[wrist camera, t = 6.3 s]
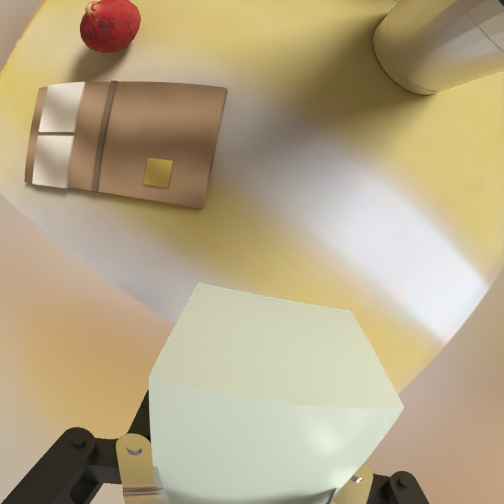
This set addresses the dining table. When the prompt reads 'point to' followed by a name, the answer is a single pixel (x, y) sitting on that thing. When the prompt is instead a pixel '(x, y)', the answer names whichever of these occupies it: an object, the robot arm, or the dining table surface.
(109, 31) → the onion
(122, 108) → the board
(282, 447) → the block
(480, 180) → the dining table surface
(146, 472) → the robot arm
